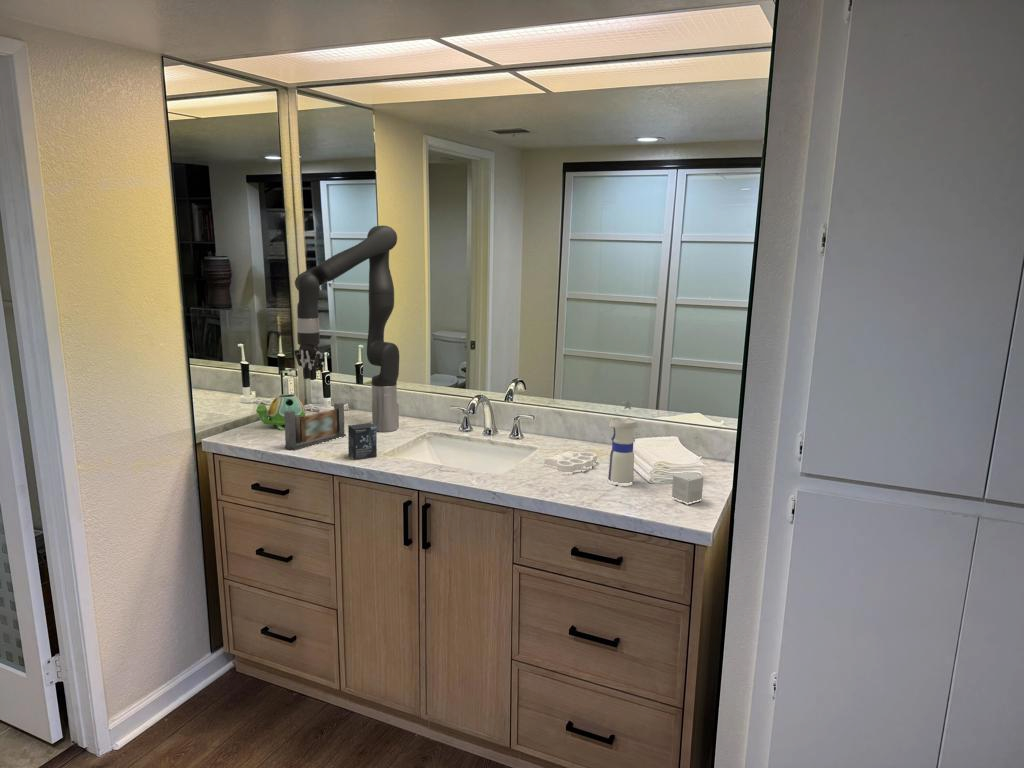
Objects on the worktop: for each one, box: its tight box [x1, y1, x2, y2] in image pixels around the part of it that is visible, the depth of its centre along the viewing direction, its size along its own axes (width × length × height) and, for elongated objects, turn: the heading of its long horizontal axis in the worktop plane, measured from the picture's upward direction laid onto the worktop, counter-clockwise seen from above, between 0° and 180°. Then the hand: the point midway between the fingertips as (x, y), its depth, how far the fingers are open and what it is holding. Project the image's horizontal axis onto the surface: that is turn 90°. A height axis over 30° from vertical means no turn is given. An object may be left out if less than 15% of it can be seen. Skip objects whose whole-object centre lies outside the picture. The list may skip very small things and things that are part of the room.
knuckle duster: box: [543, 450, 598, 472], centre depth 227 cm, size 3×18×15 cm
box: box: [347, 422, 378, 461], centre depth 231 cm, size 8×6×11 cm
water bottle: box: [607, 398, 638, 483], centre depth 210 cm, size 8×8×25 cm
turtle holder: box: [255, 393, 306, 431], centre depth 265 cm, size 12×18×12 cm
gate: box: [295, 409, 337, 444], centre depth 246 cm, size 18×2×10 cm, turn 146°
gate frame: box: [284, 402, 347, 451], centre depth 246 cm, size 24×5×13 cm, turn 146°
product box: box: [671, 471, 704, 503], centre depth 197 cm, size 6×6×7 cm
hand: (309, 379), depth 250 cm, fingers open, 2 cm apart
